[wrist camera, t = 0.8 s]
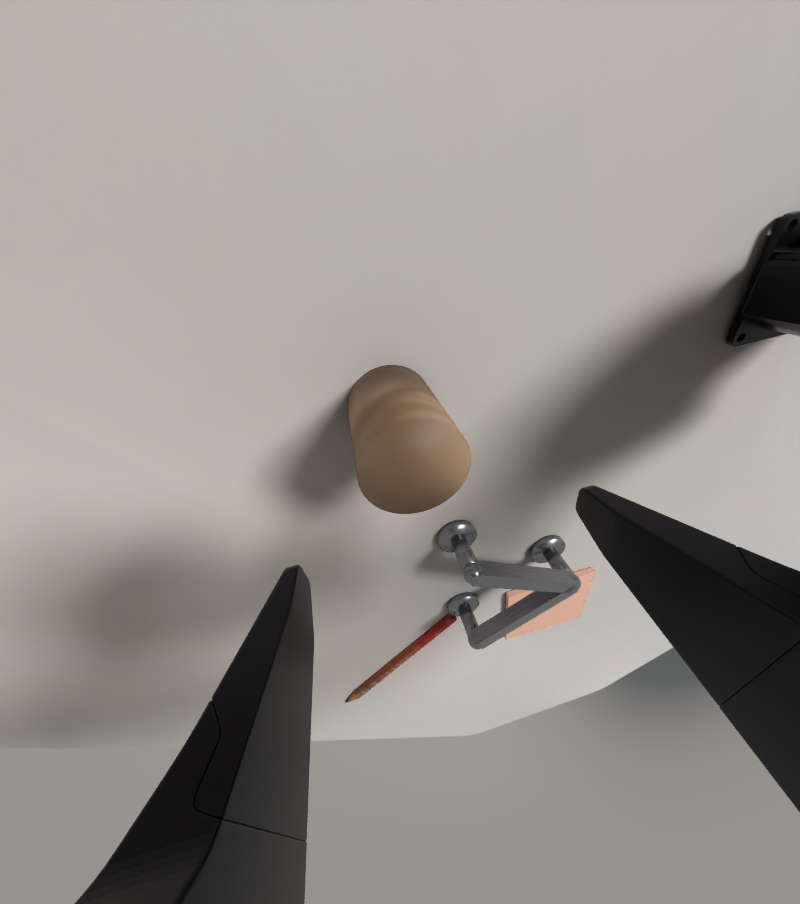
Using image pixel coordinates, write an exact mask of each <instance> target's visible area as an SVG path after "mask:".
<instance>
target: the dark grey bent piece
mask: <svg viewBox="0 0 800 904" xmlns="http://www.w3.org/2000/svg"><path fill="white" fill-rule="evenodd" d="M476 536H477V533H476V530H475V528H474V526H473V525H472V524H471V523H470V522H468V521H465V520H458V521H453V522H451V523H449V524H447V525H445V526H444V527H443V528H442V529H441V530H440V531H439V533H438V535H437V541H438V544H439V546H440V548H441V549H442V550H443V551H446V552H455V554H456V556H457V559H458V561H459V563H460V566H461V568H462V571H463V577H464V579H465V580H466V581H467V582H468V583H471V585H472V586H476V587H489V588H502V589H516V590H529V591H534V592H532V593H531V594H529V595H527V596H526V597H524V598H523V599H521V600H519V601H518V602H516V603H515V604H513V605H511V606H510V607H508V608H507V609H505V610H503V611H502V612H500V613H499V614H497V615H495V616H494V617H492V618H491V619H489V620H487V621H486V622H484V623H482V624H481V625H479V626H478V624H477V621H476V619H475V616H474V614H473V611H474V610H475V609H476V608H477V607H478V605H479V601H478V598H477V596H476V595H475V594H473V593H462V594H459V595H457V596H455V597H453V598H452V599H451V600H450V601H449V602H448V604H447V608H448V611H449V613H450V614H451V615H452V616H461V619H462V622H463V625H464V627H465V630H466V633H467V636H468V641H469V644H470V646H471V647H472V648H474V649H481V648H482V649H483V648H485V647H487V646H488V645H490V644H492V643H493V642H495V641H497V640H498V639H500V638H502V637H503V636H505V635H507V634H508V633H510V632H512V631H513V630H515V629H517V628H518V627H520V626H522V625H523V624H525V623H527V622H528V621H530V620H532V619H533V618H535V617H537V616H538V615H540V614H542V613H543V612H545V611H547V610H548V609H550V608H552V607H553V606H555V605H557V604H558V603H560V602H562V601H563V600H565V599H567V598H568V597H570V596H572V595H573V594H575V593H577V592H578V590H579V589H580V587H581V581H580V579H579V577H578V576H577V575H575V574H574V573H573V571H572V570H571V569H570V567H569V566H568V565H567V563H566V562H565V561H564V559H563V558H562V557H561V555H560V554H561V553H562V552H563V551H564V549H565V543H564V541H563V540H562V539H561V538H560V537H559V536H556V535H551V536H547V537H544V538H542V539H540V540H538V541H537V542H536V543H535V544H534V545H533V546H532V547H531V549H530V555H531V557H532V558H533V560H534V561H535V562H537V563H546V562H548V563H549V565H550V566H551V568H552V569H550V568H541V567H532V566H523V565H514V564H505V563H496V562H487V561H478V560H476V558H475V556H474V554H473V551H472V549H471V547H470V545H471V544H472V543H473V542H474V541H475V539H476Z"/></svg>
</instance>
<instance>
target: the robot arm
mask: <svg viewBox="0 0 800 904" xmlns="http://www.w3.org/2000/svg"><path fill="white" fill-rule="evenodd" d="M783 334H792V335H797V336H800V211H795V212H791V213H787V214H785V215H784V216H782V217H781V218H780V219H779V221H778V222H777V223H776V225H775V227H774V229H773V231H772V234H771V236H770V238H769V241H768V243H767V245H766V248H765V250H764V252H763V255H762V257H761V259H760V262H759V264H758V266H757V269H756V271H755V273H754V276H753V278H752V280H751V283H750V285H749V287H748V290H747V292H746V294H745V297H744V299H743V301H742V304H741V306H740V308H739V311H738V313H737V315H736V317H735V320H734V322H733V324H732V327H731V329H730V331H729V334H728V336H727V339H726V343H727V344H729V345H733V346H739V345H743V344H747V343H751V342H755V341H759V340H763V339H767V338H771V337H775V336H779V335H783ZM576 511H577V513H578V515H579V517H580V518H581V520H582V522H583V523H584V525H585V526H586V528H587V530H588V531H589V533H590V535H591V536H592V538H593V539H594V541H595V543H596V544H597V546H598V548H599V549H600V551H601V552H602V554H603V555H604V557H605V558H606V559H607V561H608V562H609V563H610V565H611V566H612V567H613V569H614V570H615V571H616V572H617V574H618V575H619V576H620V578H621V579H622V580H623V582H624V583H625V584H626V586H627V587H628V588H629V589H630V591H631V592H632V593H633V595H634V596H635V597H636V599H637V600H638V601H639V603H640V604H641V605H642V606H643V608H644V609H645V610H646V612H647V613H648V614H649V616H650V617H651V618H652V619H653V621H654V622H655V623H656V625H657V626H658V627H659V629H660V630H661V631H662V633H663V634H664V635H665V636H666V638H667V639H668V640H669V642H670V643H671V644H672V646H673V647H674V648H675V650H676V651H677V652H678V653H679V655H680V656H681V657H682V659H683V660H684V661H685V662H686V664H687V665H688V667H689V668H690V669H691V670H692V672H693V673H694V674H695V676H696V677H697V678H698V680H699V681H700V682H701V683H702V685H703V686H704V687H705V688H706V690H707V691H708V692H709V694H710V695H711V697H712V698H713V699H714V701H715V702H716V703H717V704H718V705H719V706H720V709H721V710H722V711H723V713H724V714H725V715H726V717H727V718H728V719H729V720H730V722H731V723H732V724H733V726H734V727H735V728H736V730H737V731H738V732H739V734H740V735H741V736H742V737H743V739H744V740H745V741H746V743H747V744H748V745H749V747H751V749H752V750H753V752H754V753H755V754H756V756H757V757H758V758H759V759H760V761H761V762H762V763H763V765H764V766H765V767H766V769H767V770H768V771H769V773H770V774H771V775H772V777H773V778H774V779H775V781H776V782H777V783H778V784H779V786H780V787H781V788H782V790H783V791H784V792H785V794H786V795H787V796H788V798H789V799H790V800H791V801H792V803H793V804H794V805H795V807H796V808H797V809H798V811H799V812H800V571H798V570H795V569H792V568H790V567H787V566H785V565H782V564H780V563H777V562H775V561H772V560H770V559H767V558H765V557H762V556H760V555H758V554H755V553H753V552H750V551H748V550H746V549H743V548H741V547H736V546H735V545H734V544H731V543H729V542H727V541H724V540H722V539H720V538H717V537H715V536H712V535H710V534H708V533H705V532H703V531H701V530H698V529H696V528H694V527H691V526H689V525H686V524H684V523H682V522H679V521H677V520H675V519H672V518H670V517H668V516H665V515H663V514H661V513H658V512H656V511H653V510H651V509H649V508H646V507H644V506H642V505H639V504H637V503H635V502H632V501H630V500H627V499H625V498H623V497H620V496H618V495H616V494H613V493H611V492H609V491H606V490H604V489H601V488H599V487H597V486H588V487H584V488H581V489H580V490H579V494H578V498H577V503H576ZM313 656H314V630H313V616H312V602H311V588H310V582H309V580H308V578H307V576H306V574H305V573H304V571H303V569H302V568H301V566H300V565H295V566H292V567H288V568H286V569H285V570H284V571H283V573H282V575H281V577H280V578H279V580H278V582H277V584H276V586H275V587H274V589H273V591H272V593H271V594H270V596H269V598H268V600H267V601H266V603H265V605H264V607H263V608H262V610H261V612H260V614H259V616H258V617H257V619H256V621H255V623H254V624H253V626H252V628H251V630H250V631H249V633H248V635H247V637H246V638H245V640H244V642H243V644H242V645H241V647H240V649H239V651H238V653H237V654H236V656H235V658H234V660H233V661H232V663H231V665H230V667H229V668H228V670H227V672H226V674H225V675H224V677H223V679H222V681H221V683H220V684H219V686H218V688H217V690H216V691H215V693H214V695H213V697H212V701H210V702H209V703H208V705H207V707H206V709H205V711H204V712H203V714H202V716H201V718H200V719H199V721H198V723H197V724H196V726H195V728H194V729H193V731H192V733H191V735H190V736H189V738H188V740H187V741H186V743H185V745H184V746H183V748H182V749H181V751H180V753H179V754H178V756H177V757H176V759H175V761H174V762H173V764H172V765H171V767H170V769H169V770H168V771H167V773H166V775H165V776H164V778H163V779H162V781H161V782H160V784H159V785H158V787H157V788H156V790H155V791H154V793H153V795H152V796H151V797H150V799H149V801H148V802H147V804H146V805H145V807H144V808H143V810H142V811H141V813H140V814H139V816H138V817H137V819H136V820H135V822H134V823H133V825H132V827H131V828H130V829H129V831H128V832H127V834H126V836H125V837H124V839H123V840H122V842H121V843H120V845H119V846H118V848H117V849H116V851H115V852H114V854H113V855H112V857H111V858H110V859H109V861H108V862H107V864H106V866H105V867H104V868H103V869H102V871H101V872H100V873H99V875H98V876H97V877H96V879H95V880H94V881H93V882H92V884H91V885H90V886H89V887H88V889H87V890H86V891H85V892H84V894H83V895H82V896H81V897H80V898H79V899H78V900H77V902H76V903H75V904H304V899H305V871H306V845H307V843H306V842H305V841H306V839H307V815H308V788H309V762H310V735H311V709H312V682H313Z"/></svg>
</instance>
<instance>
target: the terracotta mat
mask: <svg viewBox="0 0 800 904" xmlns="http://www.w3.org/2000/svg"><path fill="white" fill-rule="evenodd" d="M573 573H574V574H575V575H577V576H578V577H579V579H580V581H581V587H580V589H579V590H578V592H577V593H575V594H573V595H572V596H570V597H568V598H567V599H565V600H563V601H562V602H560V603H558V604H557V605H555V606H553V607H552V608H550V609H548V610H547V611H545V612H543V613H542V614H540V615H538V616H537V617H535V618H533V619H532V620H530V621H528V622H527V623H525V624H523V625H522V626H520V627H518V628H517V629H515V630H513V631H512V632H510V633H508V634H507V635H505V639H506V640H507V639H510V638H513V637H516V636H520V635H523V634H526V633H530V632H533V631H536V630H540V629H543V628H546V627H549V626H553V625H556V624H559V623H563V622H566V621H569V620H573V619H576V618H579V617H580V616H581V613H582V610H583V607H584V604H585V601H586V598H587V595H588V592H589V589H590V586H591V583H592V580H593V577H594V574H595V570H594V569H593V568H592V567H591V568H587V569H584V570H580V571H577V572H573ZM532 592H534V591H529V590H516V589H515V590H512V591H508V592H506V607H505V609H507V608H508V607H510V606H511V605H513V604H515V603H516V602H518V601H519V600H521V599H523V598H524V597H526V596H527V595H529V594H531V593H532Z"/></svg>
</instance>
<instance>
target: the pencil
mask: <svg viewBox="0 0 800 904" xmlns="http://www.w3.org/2000/svg"><path fill="white" fill-rule="evenodd" d="M456 619H457V618H456V616H452V615H451V614H450V613H449V614H448V615H446V616H445V617H444V618H443V619H442V620H440V621H439V622H438V623H437V624H435V625H434V626H433V627H432V628H430V629H429V630H428V631H427V632H426V633H424V634H423V635H422V636H421V637H419V638H418V639H417V640H416V641H414V642H413V643H412V644H411V645H410V646H408V647H407V648H406V649H405V650H403V651H402V652H401V653H400V654H399V655H397V656H396V657H395V658H394V659H392V660H391V661H390V662H389V663H387V664H386V665H385V666H384V667H383V668H381V669H380V670H379V671H378V672H376V673H375V674H374V675H373V676H371V677H370V678H369V679H368V680H367V681H365V682H364V683H363V684H362V685H360V686H359V687H358V688H357V689H356V690H354V692H353V693H352V694H351V695H350V696H349V698H348V699H347V700H346V702H349V701H352V700H355V699H358V698H360V697H361V696H362V695H364V694H365V693H366V692H367V691H369V690H370V689H371V688H372V687H374V686H375V685H376V684H377V683H379V682H380V681H381V680H382V679H384V678H385V677H386V676H387V675H389V674H390V673H391V672H392V671H394V670H395V669H396V668H397V667H399V666H400V665H401V664H402V663H404V662H405V661H406V660H407V659H409V658H410V657H411V656H412V655H414V654H415V653H416V652H417V651H419V650H420V649H421V648H422V647H424V646H425V645H426V644H427V643H429V642H430V641H431V640H432V639H434V638H435V637H436V636H438V635H439V634H440V633H441V632H443V631H444V630H445V629H446V628H448V627H449V626H450V625H451V624H453V623H454V622H455V621H456ZM346 702H345V703H346Z"/></svg>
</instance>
